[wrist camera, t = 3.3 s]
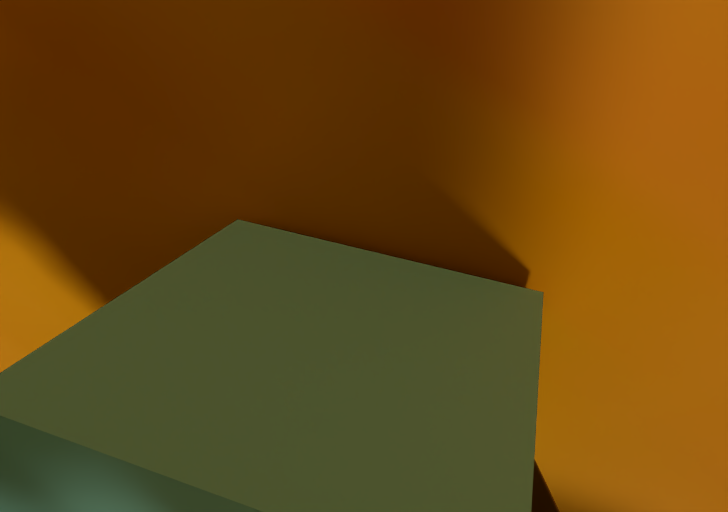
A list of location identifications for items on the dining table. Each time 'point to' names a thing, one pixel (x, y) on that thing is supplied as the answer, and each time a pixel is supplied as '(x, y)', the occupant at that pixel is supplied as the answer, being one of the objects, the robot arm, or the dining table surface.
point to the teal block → (281, 389)
